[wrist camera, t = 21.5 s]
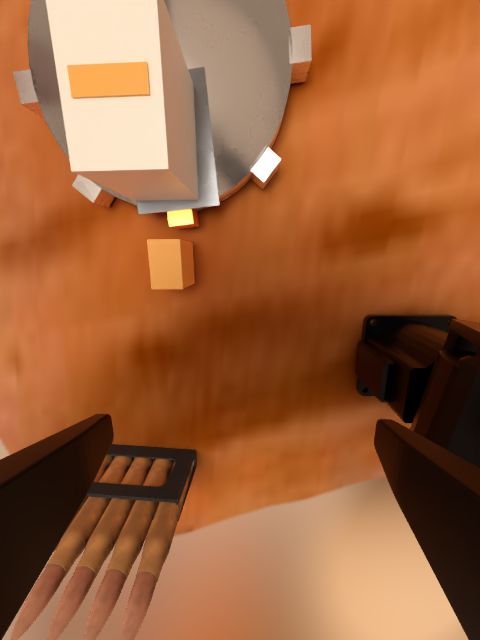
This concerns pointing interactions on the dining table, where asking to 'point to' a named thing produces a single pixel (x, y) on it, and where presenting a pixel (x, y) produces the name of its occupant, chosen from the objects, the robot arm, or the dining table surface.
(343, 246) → the dining table surface
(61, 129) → the sprocket
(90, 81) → the link block
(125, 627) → the ammunition clip
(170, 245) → the orange block
